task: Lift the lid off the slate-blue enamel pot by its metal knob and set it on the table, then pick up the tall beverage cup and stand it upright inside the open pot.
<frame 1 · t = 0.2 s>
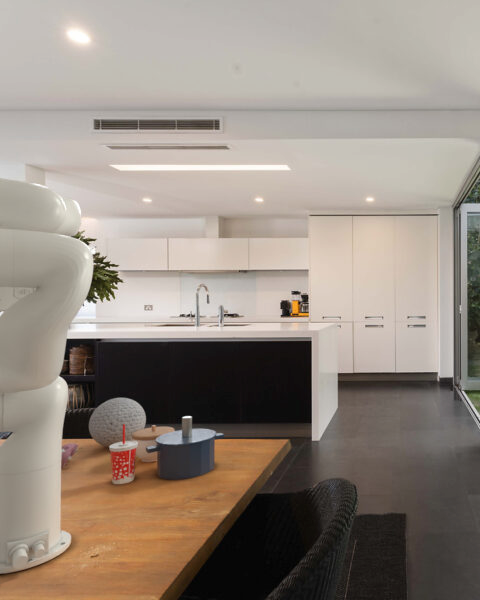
hand: (23, 338, 97), 37 cm above the table, tool pointing down, fingers open, 9 cm apart
pot: (186, 469, 119), on the table
video game controller: (61, 467, 122), on the table
beverage cup: (123, 481, 112), on the table
trinket box: (153, 459, 128), on the table
decorative ball: (118, 447, 140), on the table
lid: (186, 437, 120), point 8 cm above the table, touching pot
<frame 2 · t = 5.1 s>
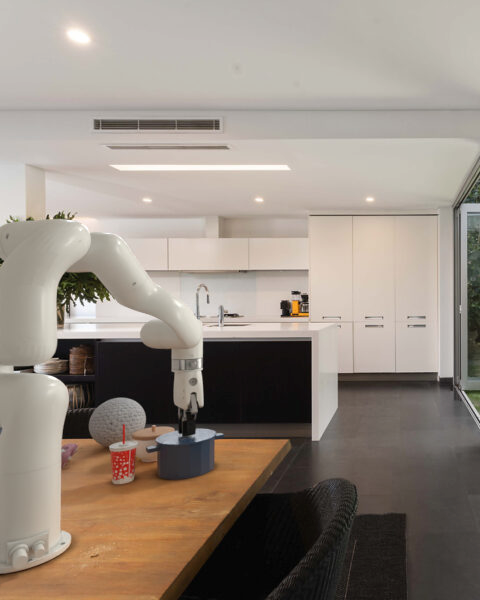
hand: (186, 433, 120), 10 cm above the table, tool pointing down, fingers closed on lid, 2 cm apart
lid: (186, 437, 120), point 9 cm above the table, touching gripper, pot
everything else where it was.
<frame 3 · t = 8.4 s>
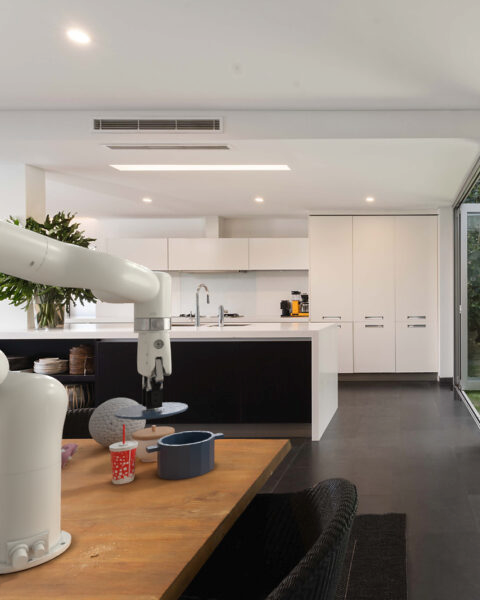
hand: (152, 406, 102), 21 cm above the table, tool pointing down, fingers closed on lid, 2 cm apart
lid: (152, 411, 102), point 20 cm above the table, touching gripper
everything else where it was.
when the fingers open (2 cm above the table, at t = 12.1 s): lid stays where it is, point 1 cm above the table.
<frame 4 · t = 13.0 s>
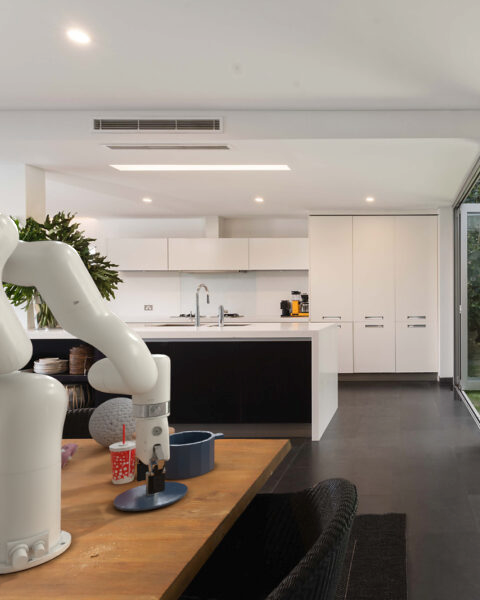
hand: (150, 485, 101), 3 cm above the table, tool pointing down, fingers open, 9 cm apart
lid: (151, 496, 101), point 1 cm above the table
everything else where it was.
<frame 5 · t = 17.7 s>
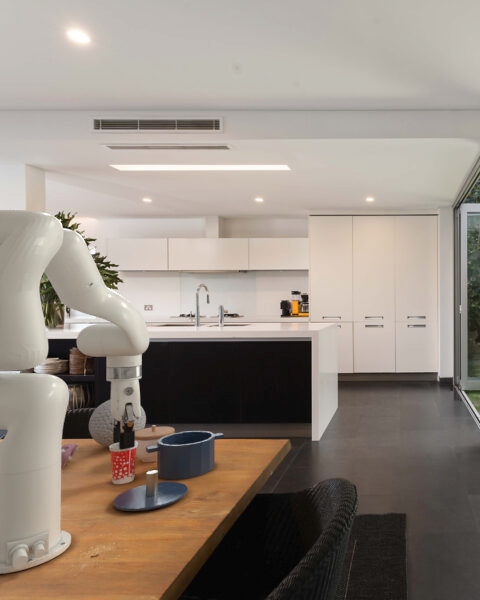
hand: (123, 444, 112), 9 cm above the table, tool pointing down, fingers closed on beverage cup, 6 cm apart
beverage cup: (123, 481, 112), on the table, touching gripper
everything else where it was.
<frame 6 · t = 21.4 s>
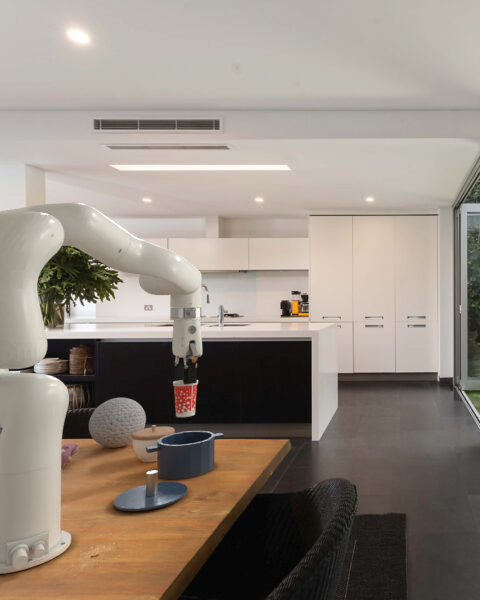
hand: (185, 381, 120), 24 cm above the table, tool pointing down, fingers closed on beverage cup, 6 cm apart
beverage cup: (185, 415, 119), point 14 cm above the table, touching gripper
everything else where it was.
when the fingers open (10 cm above the table, at t = 25.0 s): beverage cup stays where it is, resting on pot.
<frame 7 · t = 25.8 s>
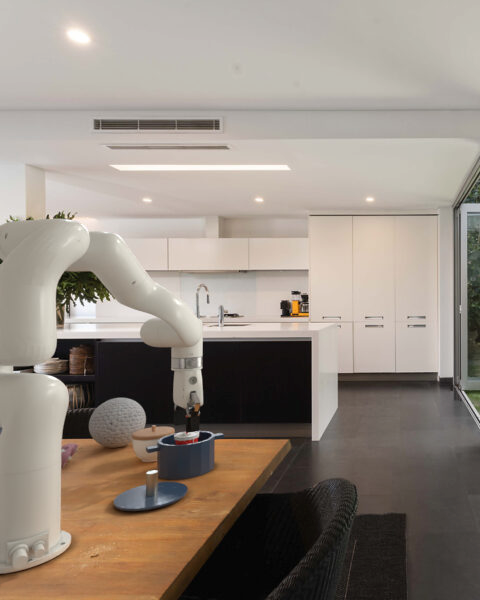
hand: (186, 427, 119), 11 cm above the table, tool pointing down, fingers open, 9 cm apart
beverage cup: (186, 468, 119), resting on pot
everything else where it was.
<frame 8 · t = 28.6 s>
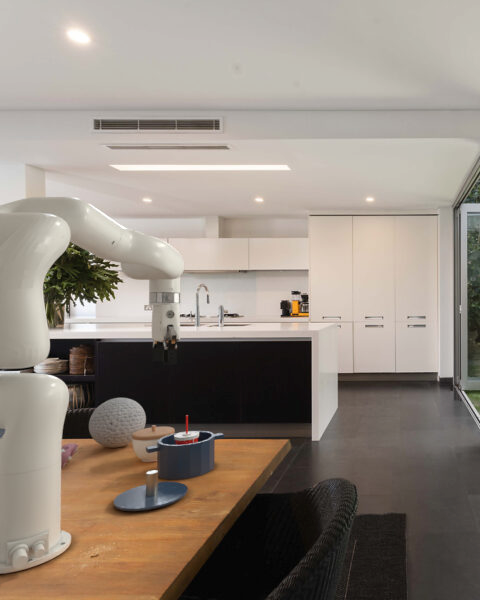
hand: (164, 362, 121), 28 cm above the table, tool pointing down, fingers open, 9 cm apart
nothing on the table moved.
at the end: beverage cup 0.1 cm off-centre in the pot, point 0.3 cm above the pot's base; beverage cup tilted 0°; lid inside the target area (0.2 cm from its centre), point 0.6 cm above the table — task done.
